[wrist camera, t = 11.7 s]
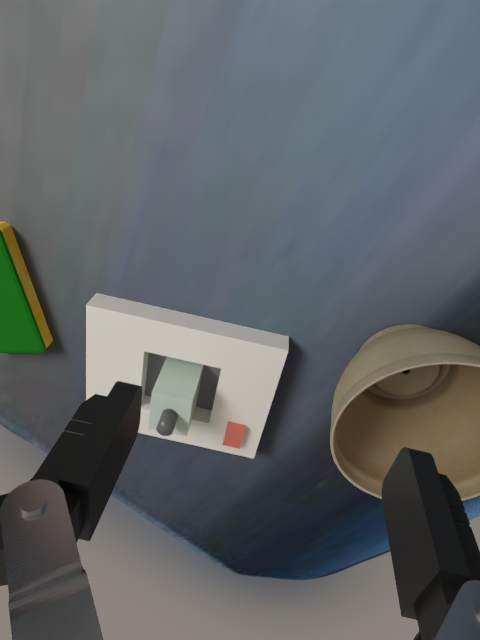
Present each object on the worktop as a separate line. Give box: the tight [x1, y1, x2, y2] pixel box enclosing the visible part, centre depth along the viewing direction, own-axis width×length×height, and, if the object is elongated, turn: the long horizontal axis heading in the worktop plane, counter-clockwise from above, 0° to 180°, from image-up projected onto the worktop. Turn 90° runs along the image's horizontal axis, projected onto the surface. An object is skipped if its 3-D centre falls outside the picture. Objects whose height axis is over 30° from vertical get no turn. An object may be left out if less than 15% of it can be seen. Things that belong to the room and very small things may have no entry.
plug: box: [149, 357, 204, 436], centre depth 44 cm, size 4×5×8 cm
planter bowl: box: [330, 324, 480, 501], centre depth 39 cm, size 16×16×11 cm
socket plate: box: [86, 293, 289, 458], centre depth 46 cm, size 20×16×3 cm
